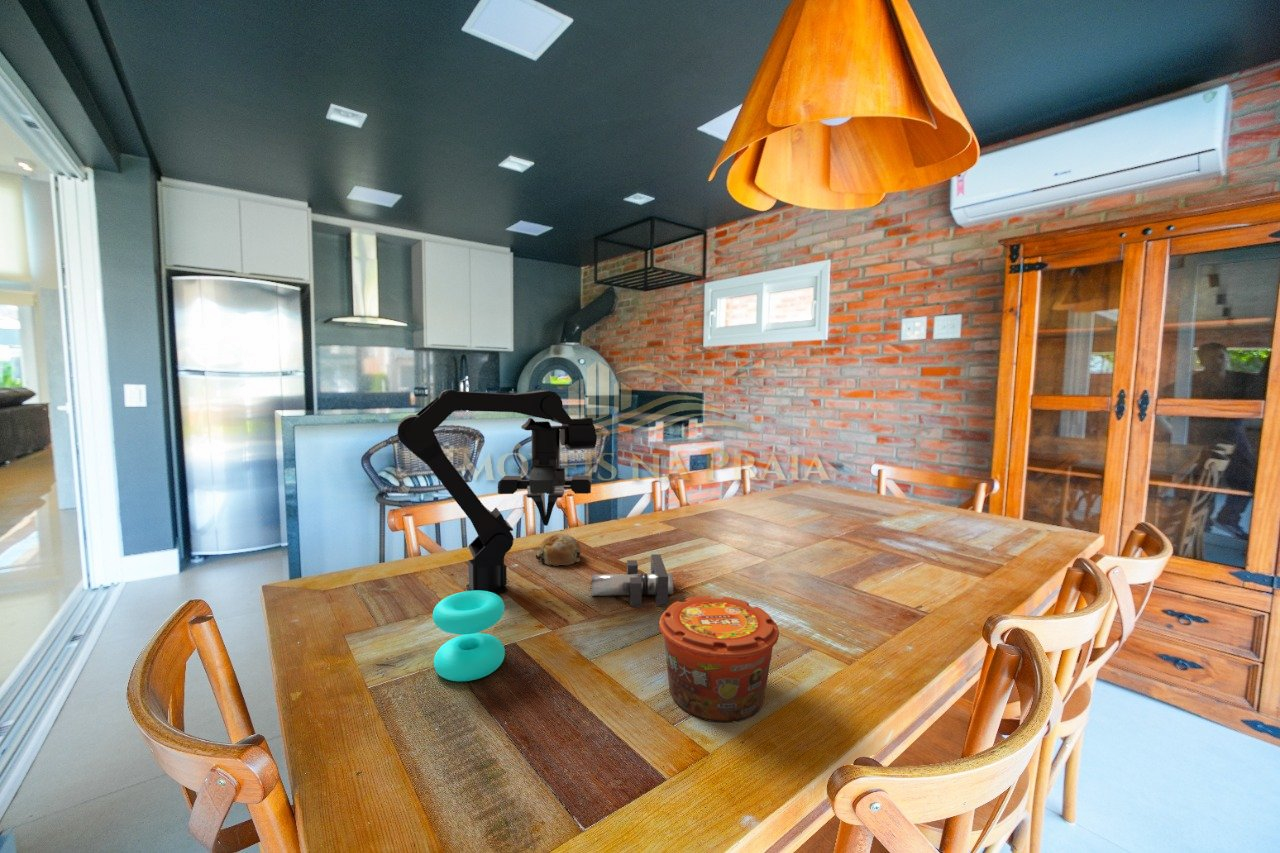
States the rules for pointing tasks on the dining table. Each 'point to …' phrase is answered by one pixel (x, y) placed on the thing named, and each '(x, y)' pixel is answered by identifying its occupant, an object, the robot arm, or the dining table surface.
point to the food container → (718, 656)
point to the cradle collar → (634, 584)
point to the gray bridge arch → (660, 580)
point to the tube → (625, 584)
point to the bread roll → (559, 550)
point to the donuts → (468, 635)
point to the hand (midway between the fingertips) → (545, 525)
